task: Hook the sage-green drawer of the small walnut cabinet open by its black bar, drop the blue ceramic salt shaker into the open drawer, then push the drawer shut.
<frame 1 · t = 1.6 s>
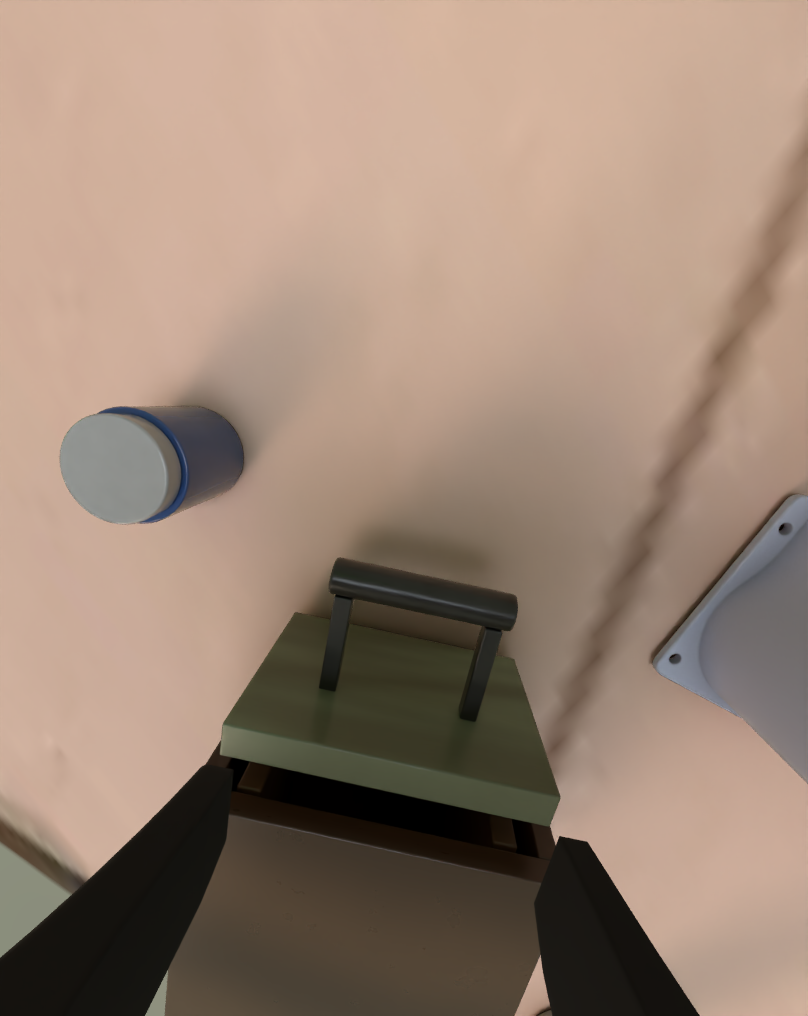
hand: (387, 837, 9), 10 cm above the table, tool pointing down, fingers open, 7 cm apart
cabinet: (372, 771, 21), on the table
drawer: (380, 764, 16), point 4 cm above the table, slide at 1.0 cm
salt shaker: (199, 453, 18), on the table
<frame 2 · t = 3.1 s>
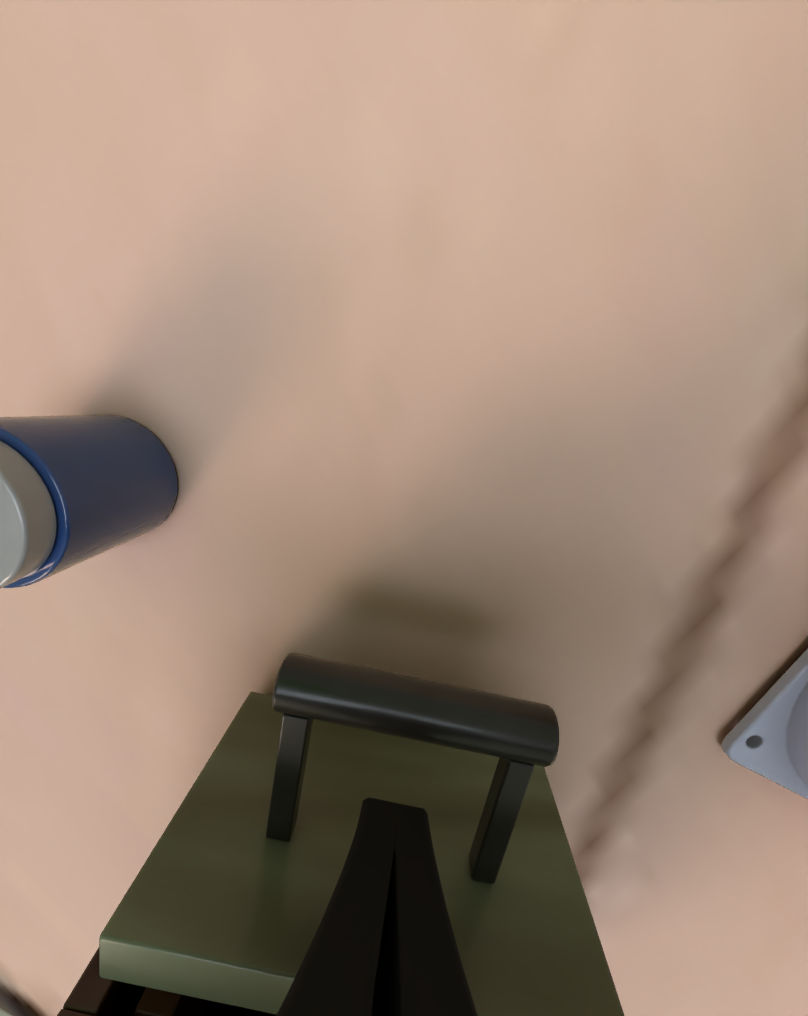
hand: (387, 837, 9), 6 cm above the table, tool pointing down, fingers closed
cabinet: (358, 871, 17), on the table
drawer: (361, 914, 12), point 4 cm above the table, slide at 0.7 cm
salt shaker: (119, 476, 13), on the table
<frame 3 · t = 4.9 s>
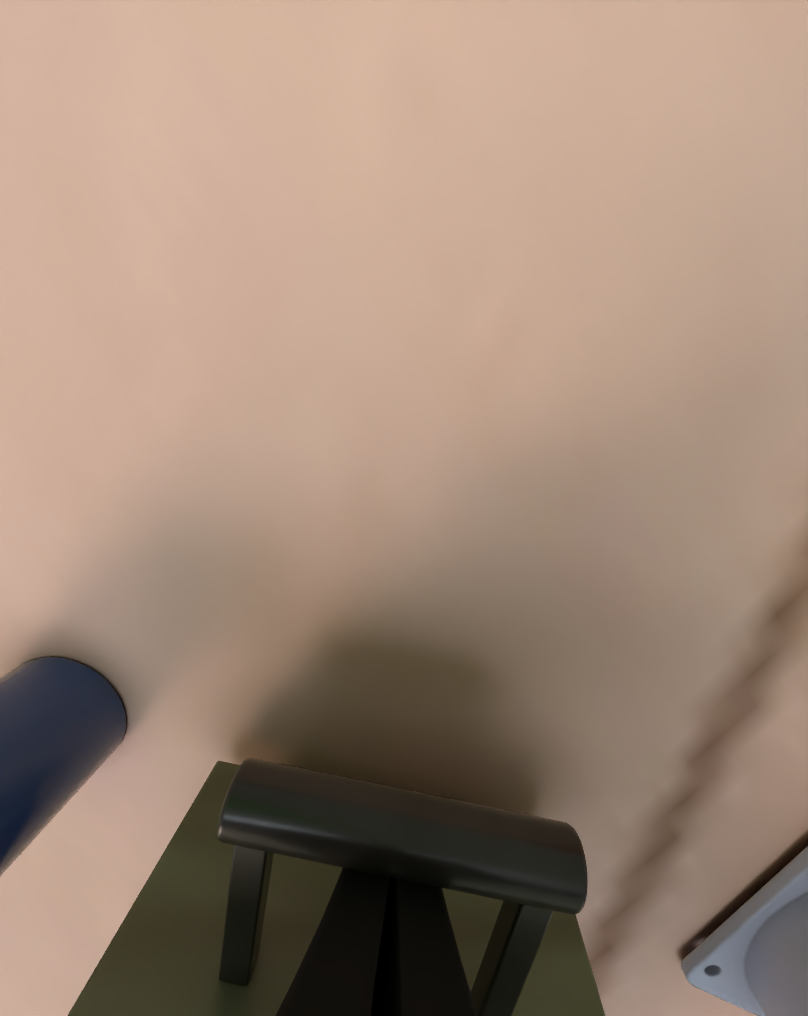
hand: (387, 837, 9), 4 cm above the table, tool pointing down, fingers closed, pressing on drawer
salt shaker: (67, 710, 13), on the table
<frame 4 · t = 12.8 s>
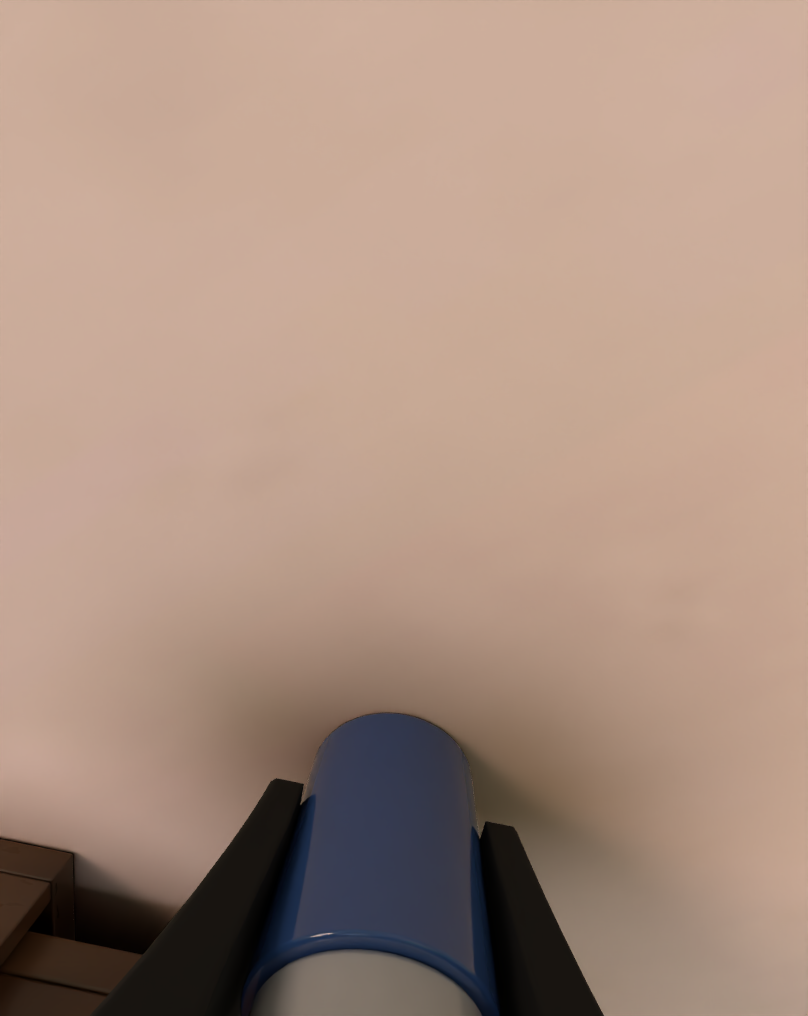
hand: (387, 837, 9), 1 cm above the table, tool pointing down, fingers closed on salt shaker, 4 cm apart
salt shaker: (391, 778, 10), on the table, touching gripper
when the fingers open (6 cm above the table, at t = 17.2 s): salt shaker drops 3 cm, resting on drawer.
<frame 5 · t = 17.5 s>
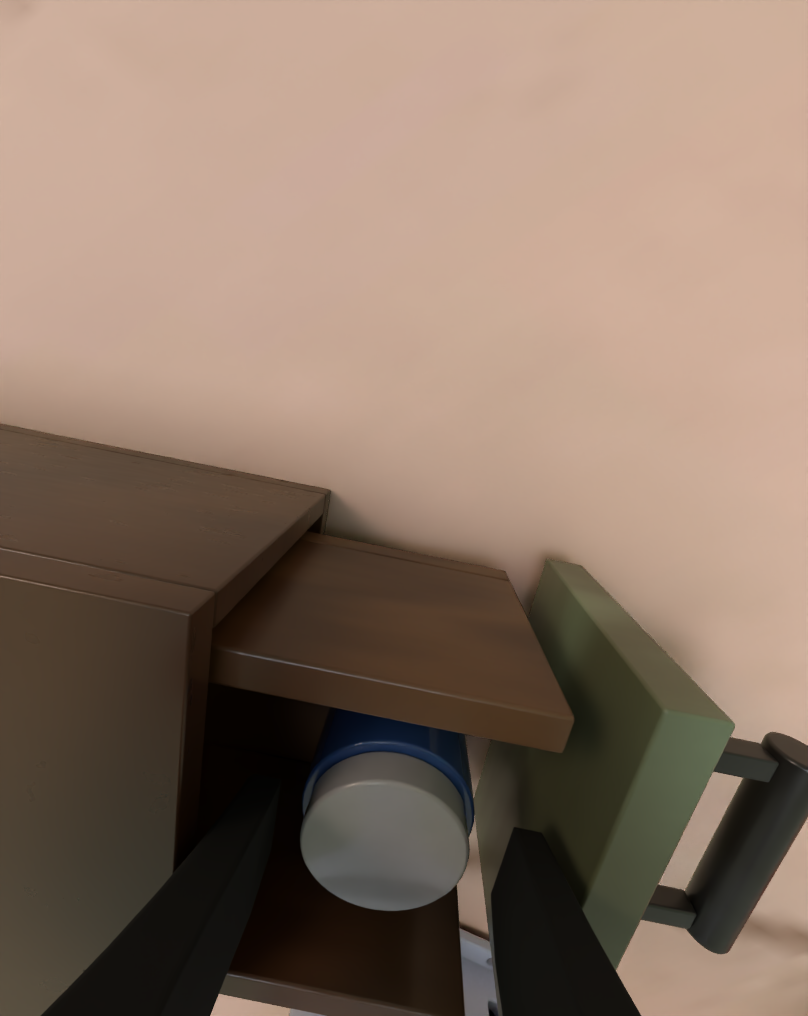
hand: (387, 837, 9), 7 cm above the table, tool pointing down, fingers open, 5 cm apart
cabinet: (134, 600, 15), on the table
drawer: (435, 754, 11), point 4 cm above the table, slide at 7.3 cm, touching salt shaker
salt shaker: (398, 688, 13), point 2 cm above the table, touching drawer
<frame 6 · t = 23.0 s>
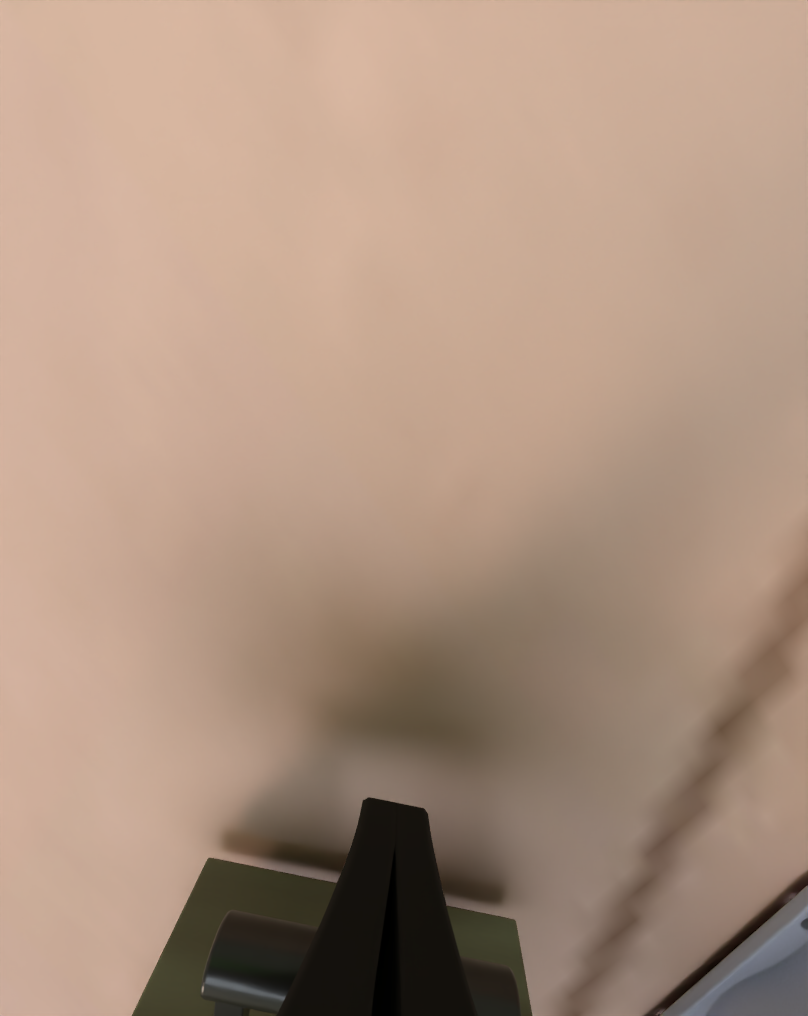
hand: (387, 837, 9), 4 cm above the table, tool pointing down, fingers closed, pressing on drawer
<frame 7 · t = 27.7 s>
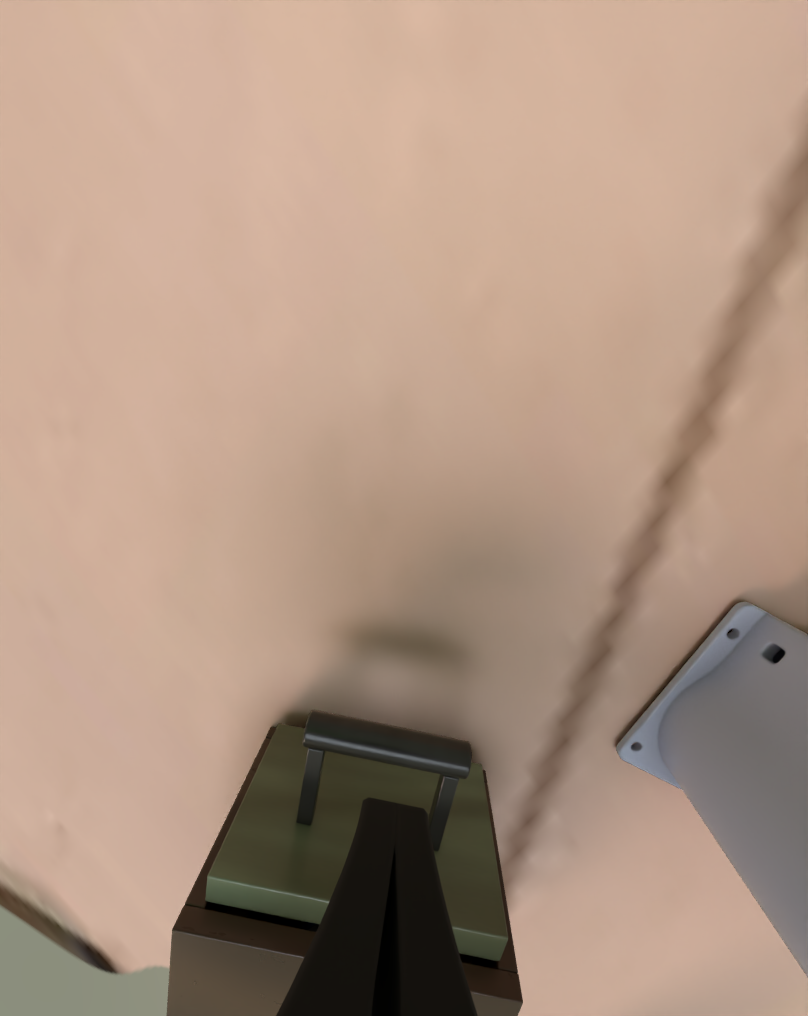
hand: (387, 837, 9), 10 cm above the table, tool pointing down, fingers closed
cabinet: (357, 843, 23), on the table
drawer: (356, 875, 17), point 4 cm above the table, slide at 0.0 cm, touching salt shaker
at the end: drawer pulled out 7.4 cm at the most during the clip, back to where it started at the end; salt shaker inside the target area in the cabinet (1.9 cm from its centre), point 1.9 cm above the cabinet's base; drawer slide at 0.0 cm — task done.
